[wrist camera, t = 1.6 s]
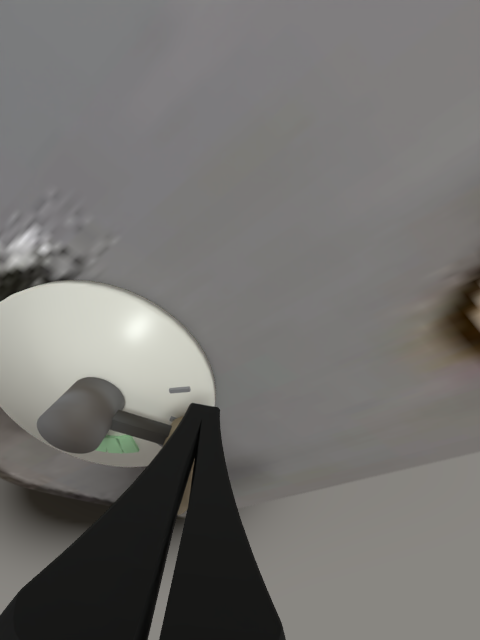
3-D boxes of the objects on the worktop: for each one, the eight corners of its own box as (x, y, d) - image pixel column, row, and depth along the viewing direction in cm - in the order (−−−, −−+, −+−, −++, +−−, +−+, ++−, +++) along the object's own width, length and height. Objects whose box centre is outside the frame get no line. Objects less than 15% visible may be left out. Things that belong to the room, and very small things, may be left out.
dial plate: (-1, 423, 19) (-16, 436, 18) (-18, 235, 12) (-44, 237, 11) (182, 474, 21) (178, 488, 20) (250, 336, 14) (250, 346, 13)
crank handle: (70, 407, 16) (1, 481, 12) (73, 370, 14) (-3, 438, 10) (196, 444, 17) (178, 524, 13) (211, 414, 16) (197, 491, 11)
